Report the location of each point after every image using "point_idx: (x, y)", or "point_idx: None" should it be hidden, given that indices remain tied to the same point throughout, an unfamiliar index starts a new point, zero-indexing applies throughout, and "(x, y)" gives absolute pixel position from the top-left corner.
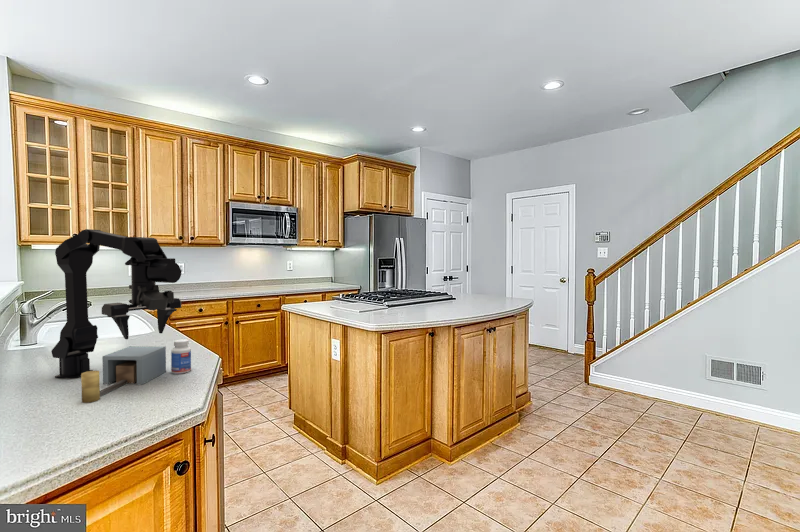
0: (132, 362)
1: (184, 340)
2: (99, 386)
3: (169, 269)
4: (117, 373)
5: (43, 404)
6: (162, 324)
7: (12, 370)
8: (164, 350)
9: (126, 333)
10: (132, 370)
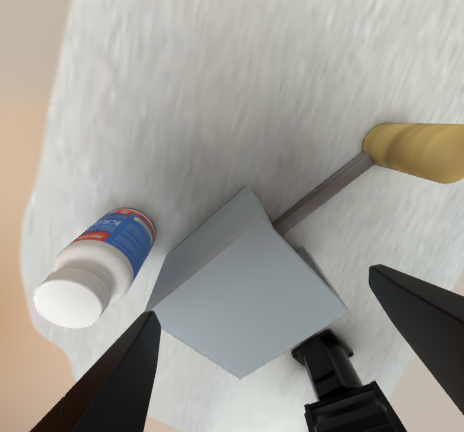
0: None
1: (52, 302)
2: (391, 139)
3: None
4: None
5: (447, 195)
6: (116, 370)
7: None
8: (152, 301)
9: (424, 284)
10: None
